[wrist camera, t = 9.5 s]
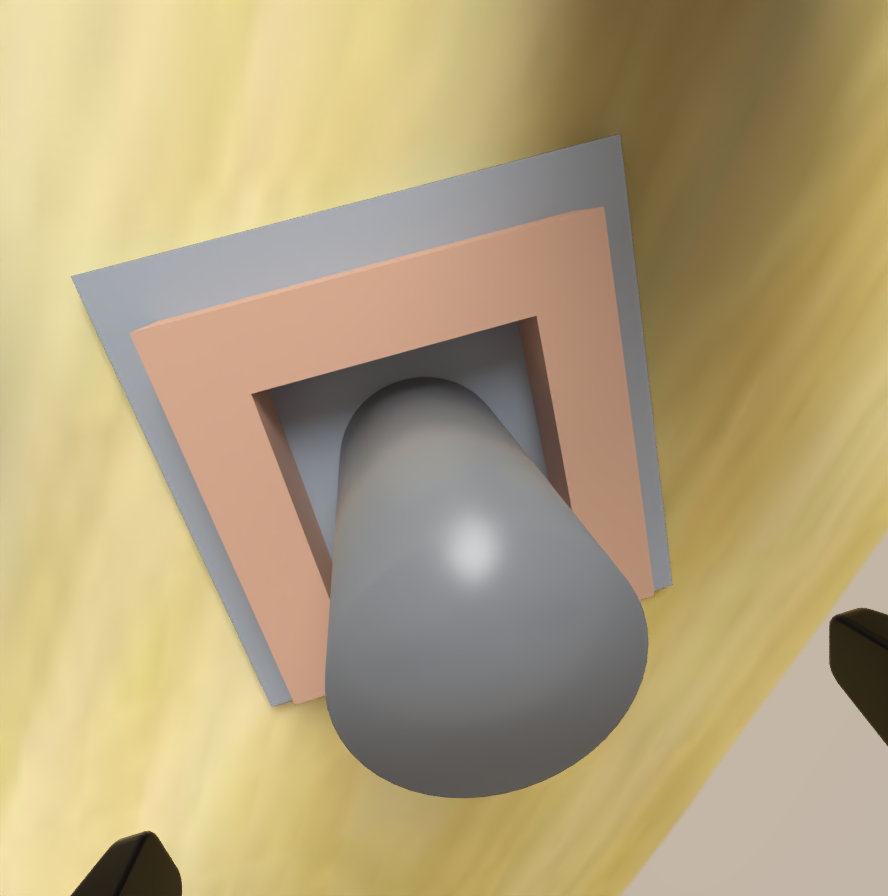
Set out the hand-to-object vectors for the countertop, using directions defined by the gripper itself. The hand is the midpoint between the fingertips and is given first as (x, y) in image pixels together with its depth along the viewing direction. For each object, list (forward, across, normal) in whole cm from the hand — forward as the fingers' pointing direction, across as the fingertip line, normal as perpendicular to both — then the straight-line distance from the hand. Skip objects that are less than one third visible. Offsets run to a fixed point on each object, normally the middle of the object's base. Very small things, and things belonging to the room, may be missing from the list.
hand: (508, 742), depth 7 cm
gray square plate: (+11, 0, 0) cm, 11 cm away
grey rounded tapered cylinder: (+10, 0, 0) cm, 10 cm away
